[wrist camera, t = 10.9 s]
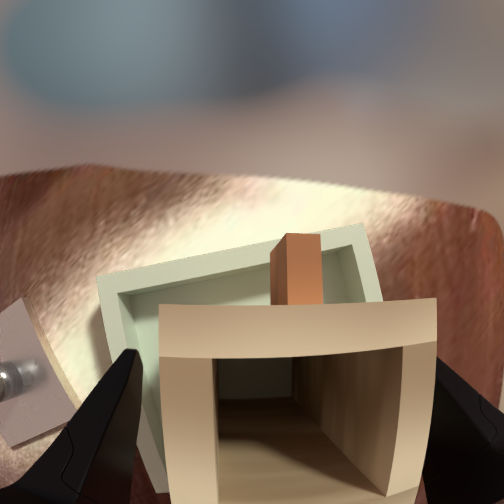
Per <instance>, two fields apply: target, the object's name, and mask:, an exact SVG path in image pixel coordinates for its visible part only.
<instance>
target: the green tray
mask: <svg viewBox="0 0 504 504" xmlns="http://www.w3.org/2000/svg"><path fill="white" fill-rule="evenodd" d="M308 234H320V236H321V257H322V284H323V304H341V303H364V302H382V301H383V299H382V294H381V290H380V285H379V281H378V277H377V273H376V269H375V265H374V261H373V257H372V253H371V249H370V245H369V242H368V238H367V235H366V231H365V228H364V224H363V223H359V224H354V225H349V226H344V227H339V228H334V229H328V230H323V231H318V232H313V233H308ZM280 240H281V239H278V240H273V241H268V242H263V243H258V244H253V245H248V246H243V247H238V248H233V249H228V250H223V251H218V252H213V253H208V254H203V255H198V256H193V257H188V258H184V259H179V260H174V261H169V262H164V263H159V264H154V265H149V266H145V267H140V268H135V269H130V270H125V271H121V272H116V273H111V274H106V275H101V276H97V277H96V280H97V287H98V294H99V300H100V306H101V312H102V317H103V322H104V328H105V333H106V337H107V342H108V347H109V351H110V355H111V360H112V364H113V363H114V362H115V360H116V359H117V358H118V357H119V355H120V354H121V353H122V352H123V350H124V349H126V348H130V349H137V350H138V351H139V354H140V357H141V360H142V363H143V383H142V404H141V416H140V422H139V429H138V436H137V443H136V444H137V447H138V449H139V452H140V455H141V457H142V460H143V463H144V465H145V468H146V470H147V473H148V475H149V478H150V480H151V482H152V485H153V487H154V489H155V492H156V493H167V492H170V491H169V484H168V476H167V467H166V458H165V449H164V438H163V426H162V412H161V396H160V373H159V304H178V305H270V252H271V251H272V250H273V249H274V247H275V246H276V245H277V244H278V243H279V241H280ZM218 377H219V399H244V398H272V397H288V396H292V357H276V358H218Z"/></svg>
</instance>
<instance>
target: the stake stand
mask: <svg viewBox="0 0 504 504" xmlns="http://www.w3.org/2000/svg"><path fill="white" fill-rule="evenodd" d="M81 405H82V403H81V401H80V400H79V398H78V396H77V395H76V393H75V391H74V390H73V388H72V386H71V384H70V383H69V381H68V379H67V377H66V375H65V374H64V372H63V370H62V368H61V366H60V364H59V362H58V360H57V358H56V356H55V354H54V352H53V350H52V348H51V346H50V344H49V342H48V340H47V338H46V336H45V334H44V331H43V329H42V327H41V325H40V322H39V320H38V318H37V315H36V313H35V310H34V308H33V305H32V303H31V300H30V298H23V297H21V298H20V299H19V300H17V301H16V302H15V303H13V304H12V305H11V306H9V307H8V308H7V309H5V310H4V311H3V312H2V313H0V433H1V434H2V436H3V438H4V440H5V441H6V443H7V444H8V446H9V447H12V446H14V445H17V444H19V443H21V442H24V441H26V440H28V439H30V438H33V437H35V436H37V435H39V434H42V433H44V432H46V431H48V430H50V429H53V428H55V427H57V426H59V425H61V424H63V423H65V422H68V421H70V419H71V418H72V417H73V415H74V414H75V413H76V411H77V410H78V409H79V407H80V406H81Z"/></svg>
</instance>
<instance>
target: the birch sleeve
mask: <svg viewBox="0 0 504 504" xmlns="http://www.w3.org/2000/svg"><path fill="white" fill-rule="evenodd" d="M436 350H437V305H436V298H427V299H413V300H399V301H382V302H364V303H341V304H323V284H322V257H321V236H320V234H299V233H286V234H285V235H284V236H283V238H282V239H281V240H280V241H279V243H278V244H277V245H276V246H275V247H274V249H273V250H272V251H271V252H270V305H178V304H159V373H160V396H161V412H162V426H163V438H164V449H165V458H166V467H167V476H168V484H169V491H170V498H171V504H414V502H415V498H416V495H417V491H418V487H419V482H420V478H421V474H422V469H423V464H424V459H425V454H426V449H427V443H428V437H429V430H430V423H431V415H432V407H433V397H434V386H435V372H436ZM276 357H292V396H288V397H272V398H244V399H219V377H218V358H276Z"/></svg>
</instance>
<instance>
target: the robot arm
mask: <svg viewBox="0 0 504 504" xmlns="http://www.w3.org/2000/svg"><path fill="white" fill-rule="evenodd" d="M142 383H143V363H142V360H141V357H140V354H139V351H138V350H137V349H130V348H126V349H124V350H123V352H122V353H121V354H120V355H119V357H118V358H117V359H116V360H115V362H114V363H113V364H112V366H111V367H110V368H109V369H108V371H107V372H106V373H105V375H104V376H103V377H102V378H101V380H100V381H99V382H98V384H97V385H96V386H95V387H94V389H93V390H92V391H91V393H90V394H89V395H88V397H87V398H86V399H85V401H84V402H83V403H82V405H81V406H80V407H79V409H78V410H77V411H76V413H75V414H74V415H73V417H72V418H71V419H70V421H69V422H68V423H67V427H66V426H65V427H64V429H63V430H62V431H61V433H60V434H59V435H58V437H57V438H56V439H55V441H54V442H53V443H52V444H51V446H50V447H49V448H48V449H47V450H46V451H45V452H44V454H43V455H42V456H41V457H40V458H39V459H38V460H37V461H36V462H35V463H34V464H33V465H32V467H31V468H30V469H29V470H28V471H27V472H26V473H25V474H24V475H23V476H22V477H21V478H20V479H19V480H18V481H16V482H15V483H13V484H11V485H9V486H7V487H4V488H1V489H0V504H129V503H130V492H131V483H132V474H133V465H134V457H135V450H136V443H137V436H138V429H139V422H140V416H141V404H142ZM422 476H423V480H424V484H425V485H424V486H425V491H426V497H427V502H428V504H504V414H503V413H502V412H501V411H500V410H498V409H497V408H496V407H495V406H493V405H492V404H491V403H490V402H489V401H487V400H486V399H485V398H484V397H483V396H482V395H481V394H479V393H478V392H477V391H476V390H475V389H474V388H473V387H472V386H470V385H469V384H468V383H467V382H466V381H465V380H464V379H462V378H461V377H460V376H459V375H458V374H457V373H456V372H454V371H453V370H452V369H451V368H450V367H449V366H447V365H446V364H445V363H444V362H443V361H442V360H440V359H439V358H438V357H437V356H436V372H435V386H434V397H433V407H432V415H431V423H430V430H429V437H428V443H427V449H426V454H425V459H424V464H423V469H422Z"/></svg>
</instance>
